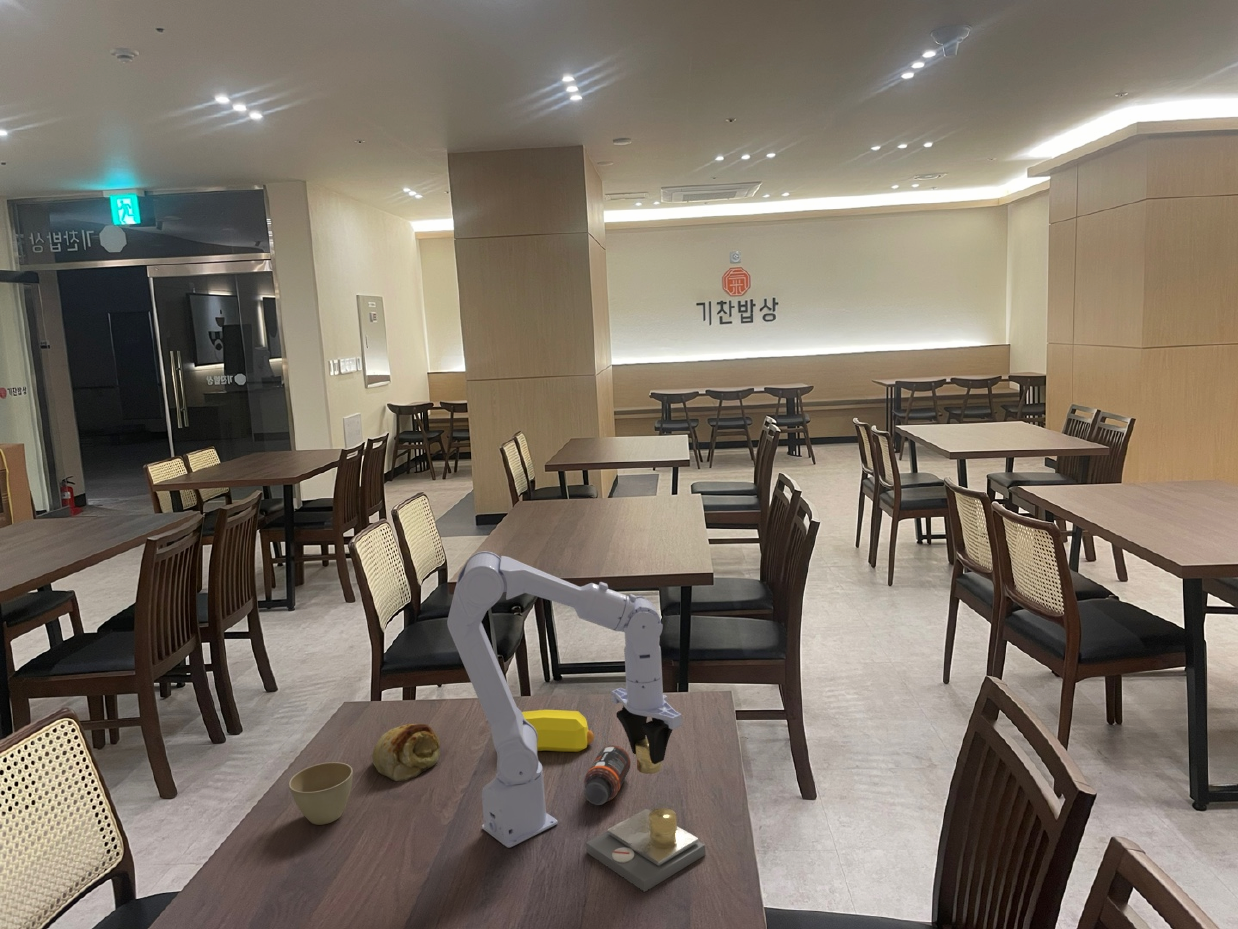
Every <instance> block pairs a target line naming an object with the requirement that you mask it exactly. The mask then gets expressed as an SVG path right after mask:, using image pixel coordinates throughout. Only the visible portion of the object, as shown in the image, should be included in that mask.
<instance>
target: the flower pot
mask: <svg viewBox="0 0 1238 929" xmlns="http://www.w3.org/2000/svg"><path fill="white" fill-rule="evenodd" d="M353 772H354V771H353V767H352V766H351V765H349V764H347V763H344V762H340V761H338V762H337V761H335V762H333V761H331V762H322V763H318V764H314V765H311V766H308V767H305V768H304V769H301V770H300V771H298V772H297V773H296V774H294V775H293V776H292V777H291V778H290V779H289V782H288V786H289V790H290V794H291V797H292V799H293V801H294V803H295V805H296V807H297V808H298V810H299V811H300V813H302V815H303V816H304V817H305V818H306V819H307V820H308V821H309V822H310V823H311V824H313V825H317V826H318V825H327V824H331V823H332V822H333V823H334V822H335V821H337V820H338V819H340V817H341V816H342V814H343V813H344V810H346V806H347V804H348V801H349V798H350V795H351V790H352V786H353V778H354V777H353V776H354V774H353Z"/></svg>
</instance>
